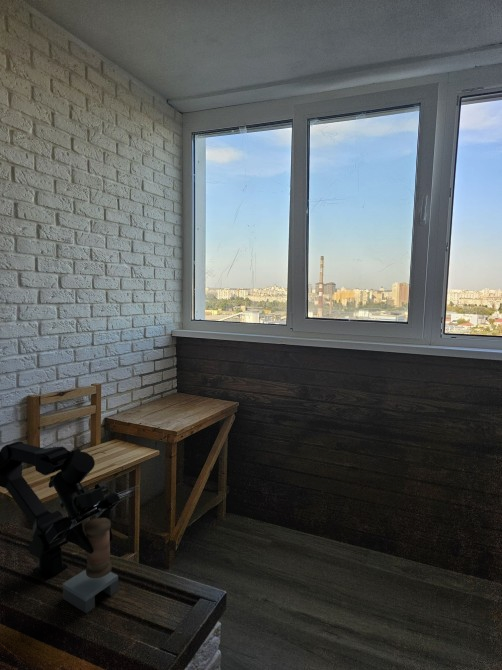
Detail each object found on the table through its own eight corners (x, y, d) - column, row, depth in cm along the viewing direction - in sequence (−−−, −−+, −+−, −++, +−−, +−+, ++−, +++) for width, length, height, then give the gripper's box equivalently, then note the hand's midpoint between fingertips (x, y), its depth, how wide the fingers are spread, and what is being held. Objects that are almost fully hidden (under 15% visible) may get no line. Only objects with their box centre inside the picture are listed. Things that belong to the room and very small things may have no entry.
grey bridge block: (63, 598, 106) (62, 583, 105) (95, 577, 113) (95, 563, 113) (86, 613, 101) (85, 597, 100) (118, 590, 109) (118, 575, 108)
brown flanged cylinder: (81, 571, 106) (79, 525, 104) (102, 559, 110) (101, 515, 109) (94, 581, 102) (93, 533, 101) (116, 569, 107) (115, 523, 105)
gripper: (50, 490, 98) (84, 552, 93) (115, 463, 114) (146, 514, 109) (31, 514, 103) (62, 573, 98) (96, 484, 119) (125, 534, 114)
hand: (101, 546), depth 105 cm, fingers closed on brown flanged cylinder, 5 cm apart
